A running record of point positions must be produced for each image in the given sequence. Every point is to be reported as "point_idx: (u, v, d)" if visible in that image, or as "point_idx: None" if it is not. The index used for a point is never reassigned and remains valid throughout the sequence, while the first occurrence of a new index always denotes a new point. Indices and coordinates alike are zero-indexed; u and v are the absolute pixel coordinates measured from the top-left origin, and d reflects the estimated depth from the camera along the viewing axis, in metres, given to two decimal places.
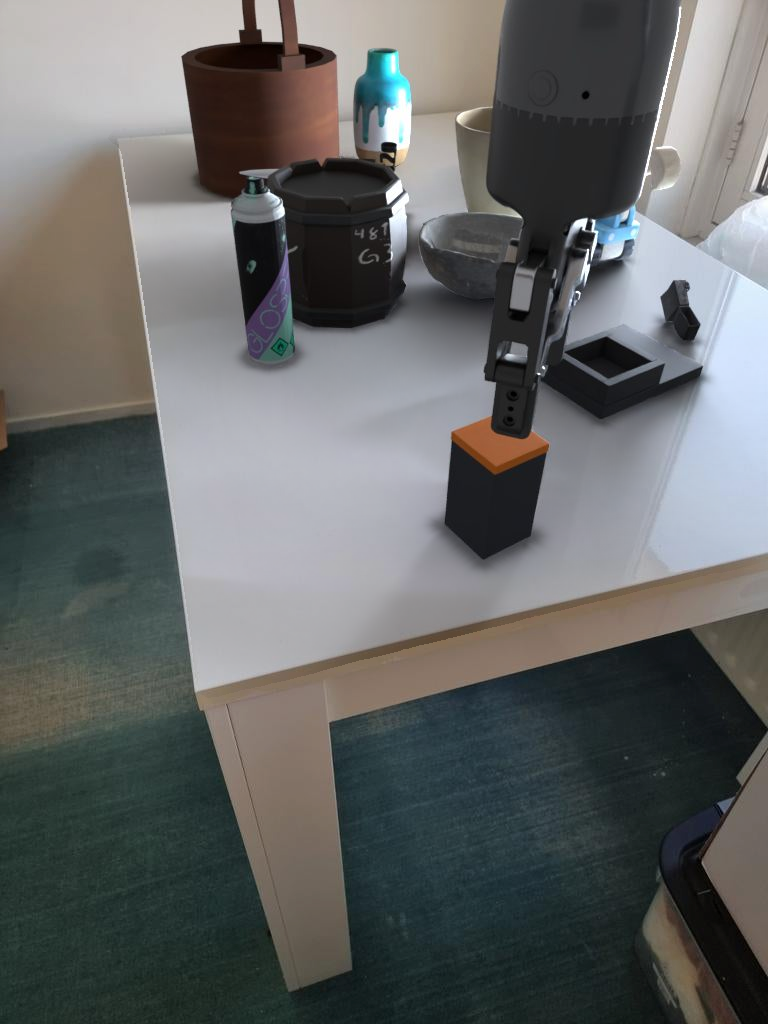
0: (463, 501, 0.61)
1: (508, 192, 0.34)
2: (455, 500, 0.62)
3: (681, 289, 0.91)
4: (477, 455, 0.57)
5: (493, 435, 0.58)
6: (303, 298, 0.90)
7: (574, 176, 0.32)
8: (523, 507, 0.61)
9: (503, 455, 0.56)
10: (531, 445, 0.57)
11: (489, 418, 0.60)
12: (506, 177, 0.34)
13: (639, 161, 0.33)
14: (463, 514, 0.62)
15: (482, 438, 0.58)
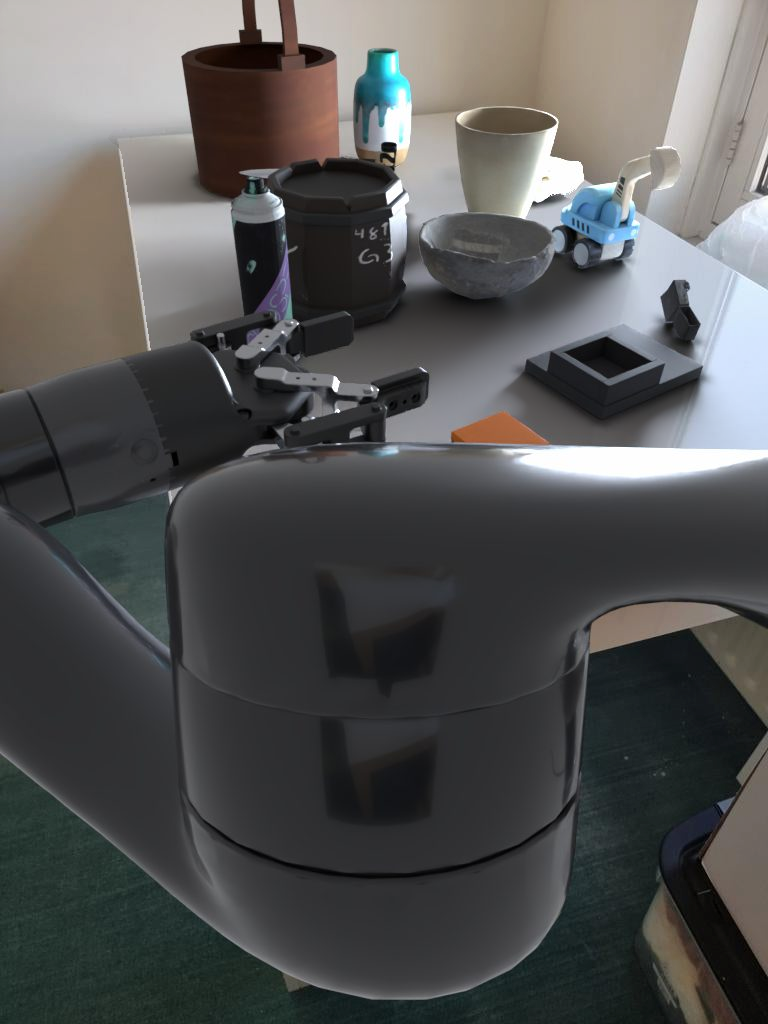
0: None
1: None
2: None
3: (681, 289, 0.91)
4: None
5: (493, 435, 0.58)
6: (303, 298, 0.90)
7: None
8: None
9: None
10: None
11: (489, 418, 0.60)
12: None
13: None
14: None
15: (482, 438, 0.58)
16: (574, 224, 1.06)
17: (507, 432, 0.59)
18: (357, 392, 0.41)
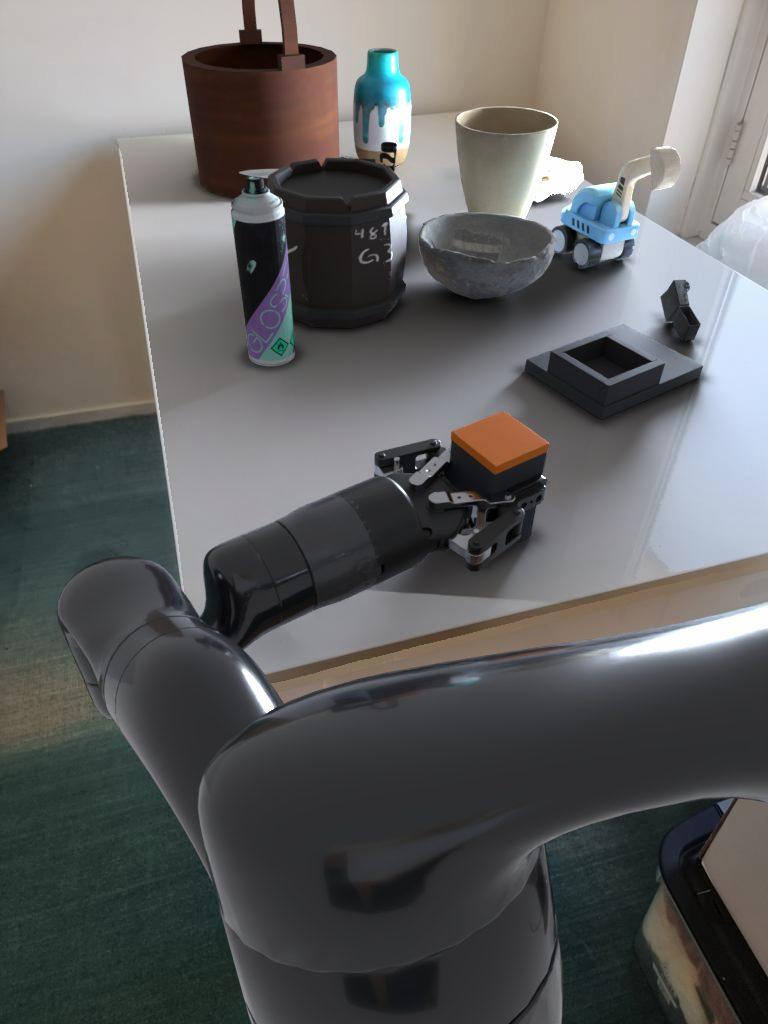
0: None
1: None
2: None
3: (681, 289, 0.91)
4: (477, 455, 0.57)
5: (493, 435, 0.58)
6: (303, 298, 0.90)
7: None
8: None
9: (503, 455, 0.56)
10: (531, 445, 0.57)
11: (489, 418, 0.60)
12: None
13: None
14: None
15: (482, 438, 0.58)
16: (574, 224, 1.06)
17: (507, 432, 0.59)
18: (502, 500, 0.57)
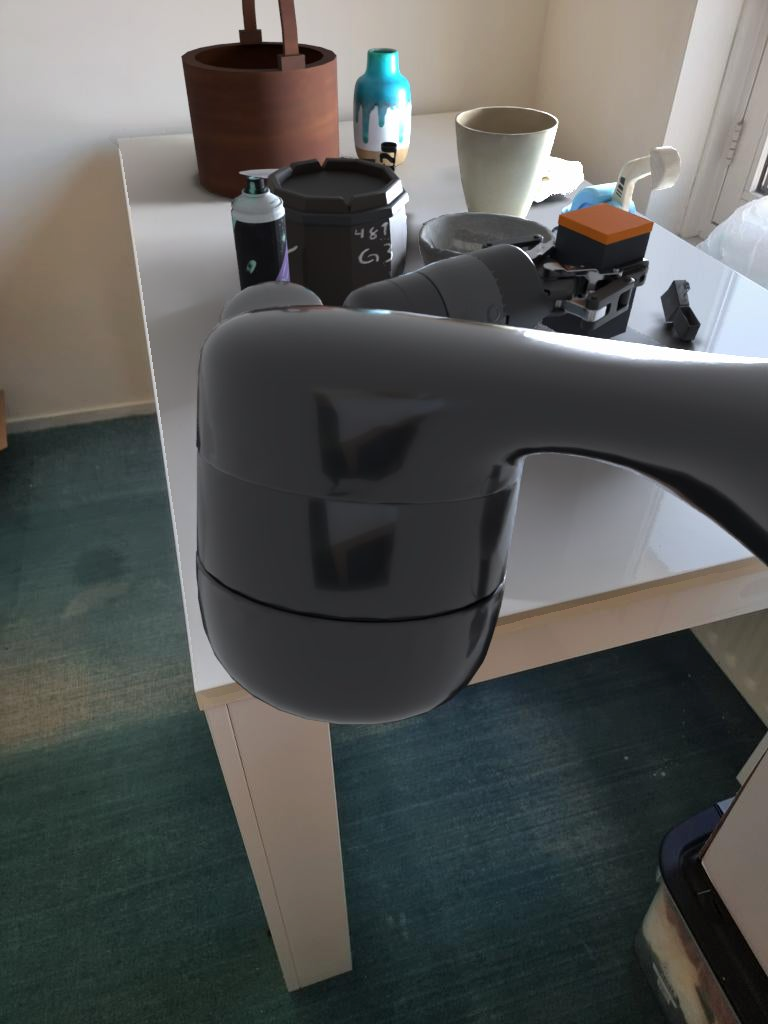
0: None
1: None
2: None
3: (681, 290, 0.91)
4: (587, 230, 0.60)
5: (599, 217, 0.62)
6: None
7: None
8: None
9: (612, 228, 0.60)
10: (637, 223, 0.61)
11: (592, 207, 0.63)
12: None
13: None
14: None
15: (589, 218, 0.61)
16: None
17: (612, 215, 0.62)
18: (611, 272, 0.60)
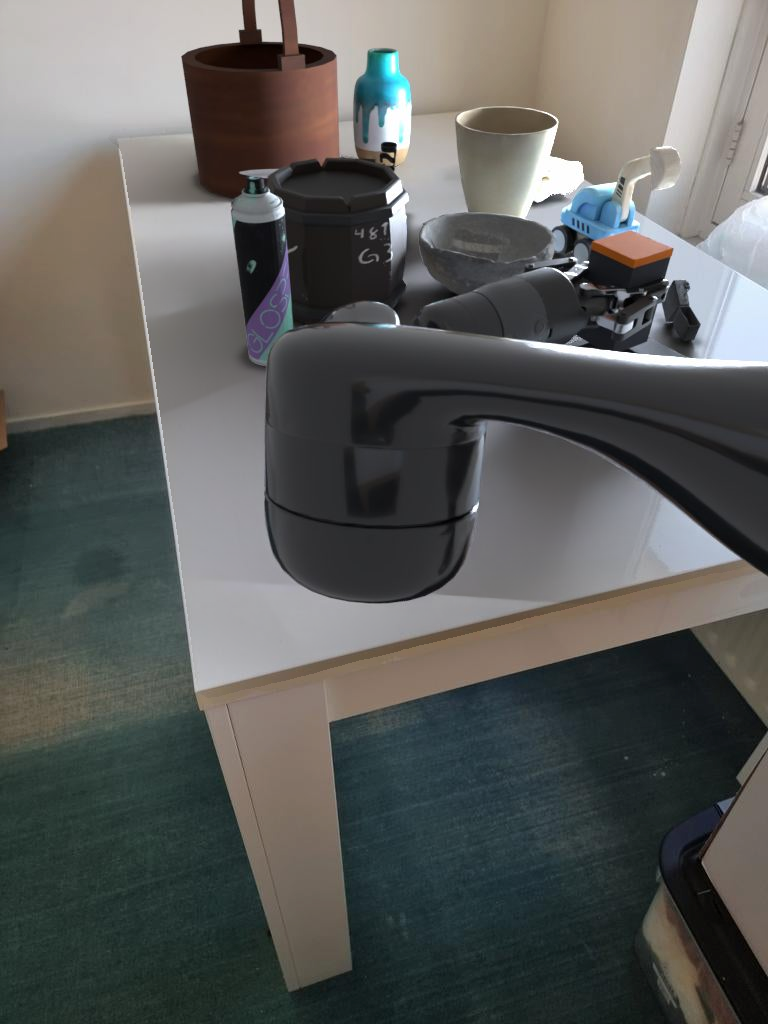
0: None
1: None
2: None
3: (681, 289, 0.91)
4: (617, 255, 0.70)
5: (627, 243, 0.72)
6: (303, 298, 0.90)
7: None
8: None
9: (638, 254, 0.70)
10: (659, 249, 0.71)
11: (620, 234, 0.74)
12: None
13: None
14: None
15: (618, 245, 0.72)
16: (574, 224, 1.06)
17: (637, 242, 0.72)
18: (637, 291, 0.70)
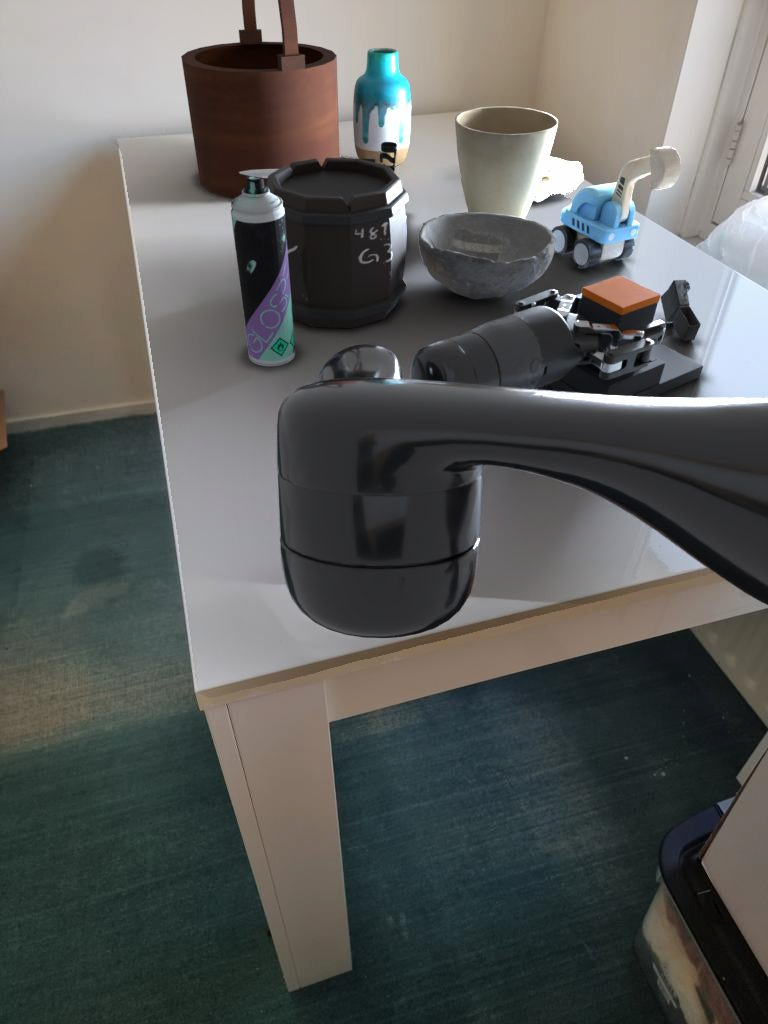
0: None
1: None
2: None
3: (681, 290, 0.91)
4: (606, 302, 0.74)
5: (615, 290, 0.75)
6: (303, 298, 0.90)
7: None
8: None
9: (627, 301, 0.73)
10: (646, 295, 0.74)
11: (610, 279, 0.77)
12: None
13: None
14: None
15: (608, 291, 0.75)
16: (574, 224, 1.06)
17: (626, 288, 0.75)
18: (632, 334, 0.72)
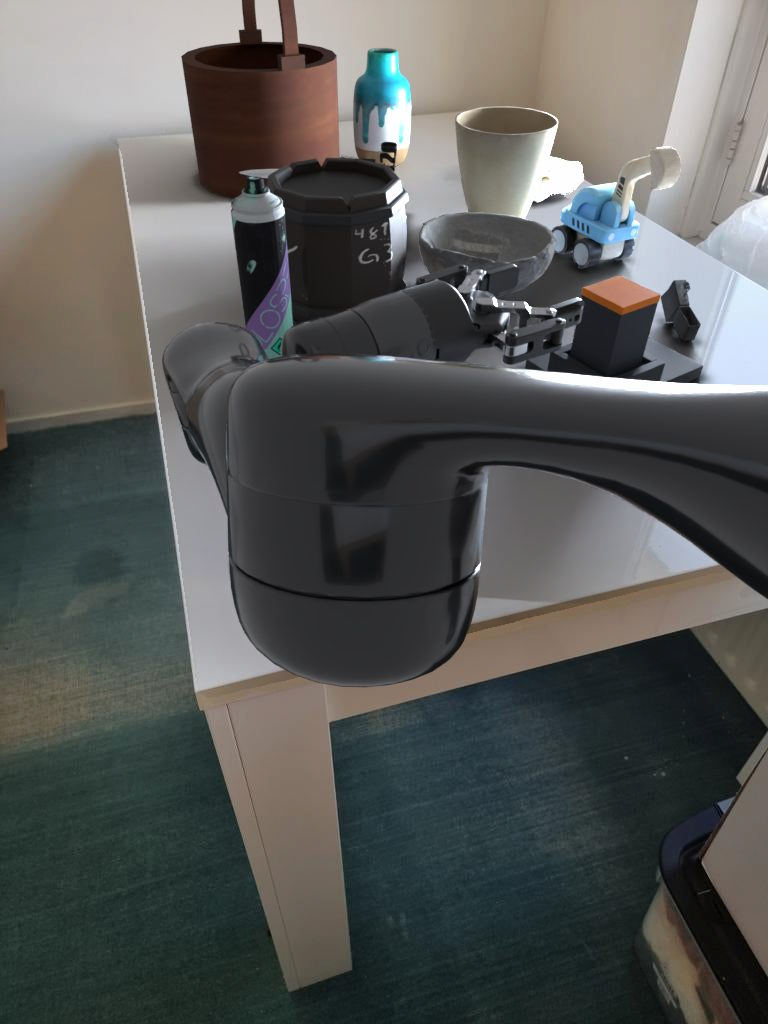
0: (587, 347, 0.78)
1: None
2: (580, 348, 0.79)
3: (681, 290, 0.91)
4: (606, 302, 0.74)
5: (615, 290, 0.75)
6: (303, 298, 0.90)
7: None
8: (635, 351, 0.78)
9: (627, 301, 0.73)
10: (646, 295, 0.74)
11: (610, 279, 0.77)
12: None
13: None
14: (586, 358, 0.79)
15: (608, 291, 0.75)
16: (574, 224, 1.06)
17: (626, 288, 0.75)
18: (543, 312, 0.63)
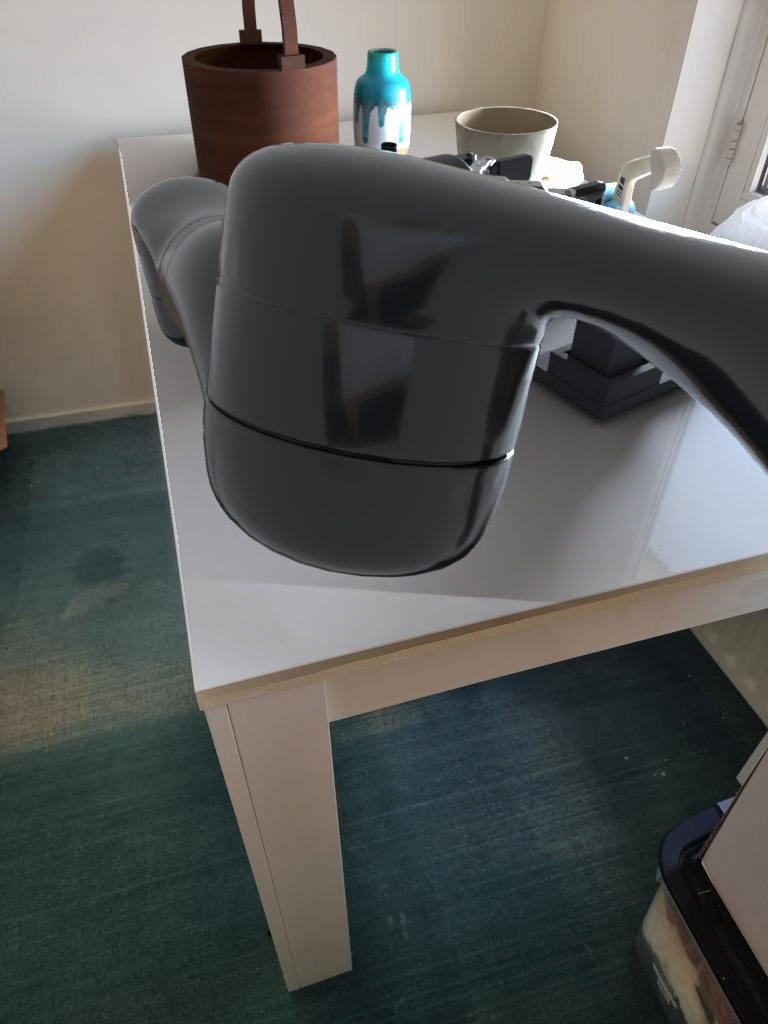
0: (587, 347, 0.78)
1: None
2: (580, 348, 0.79)
3: None
4: None
5: None
6: None
7: None
8: None
9: None
10: None
11: None
12: None
13: None
14: (586, 358, 0.79)
15: None
16: None
17: None
18: (561, 192, 0.56)
